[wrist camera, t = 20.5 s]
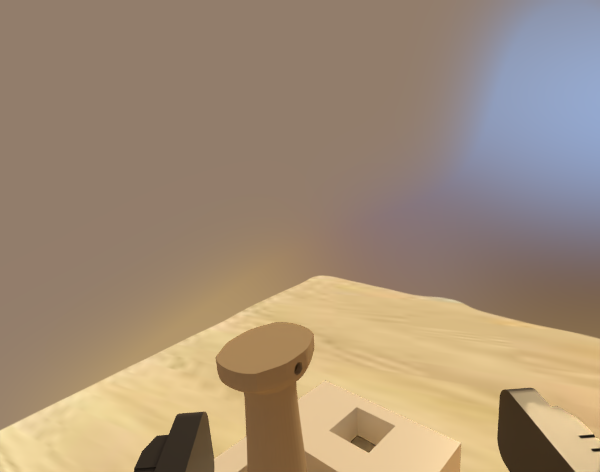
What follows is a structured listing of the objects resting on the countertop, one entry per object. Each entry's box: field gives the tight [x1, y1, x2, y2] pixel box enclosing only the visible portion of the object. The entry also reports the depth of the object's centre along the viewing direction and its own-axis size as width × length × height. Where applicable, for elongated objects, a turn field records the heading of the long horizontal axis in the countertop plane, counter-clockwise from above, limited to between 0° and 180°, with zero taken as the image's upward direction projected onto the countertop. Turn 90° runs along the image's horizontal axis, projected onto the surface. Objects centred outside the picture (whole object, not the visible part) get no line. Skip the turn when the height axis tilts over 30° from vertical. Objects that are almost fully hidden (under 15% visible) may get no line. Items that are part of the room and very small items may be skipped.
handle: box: [216, 322, 314, 472], centre depth 27 cm, size 5×6×15 cm
